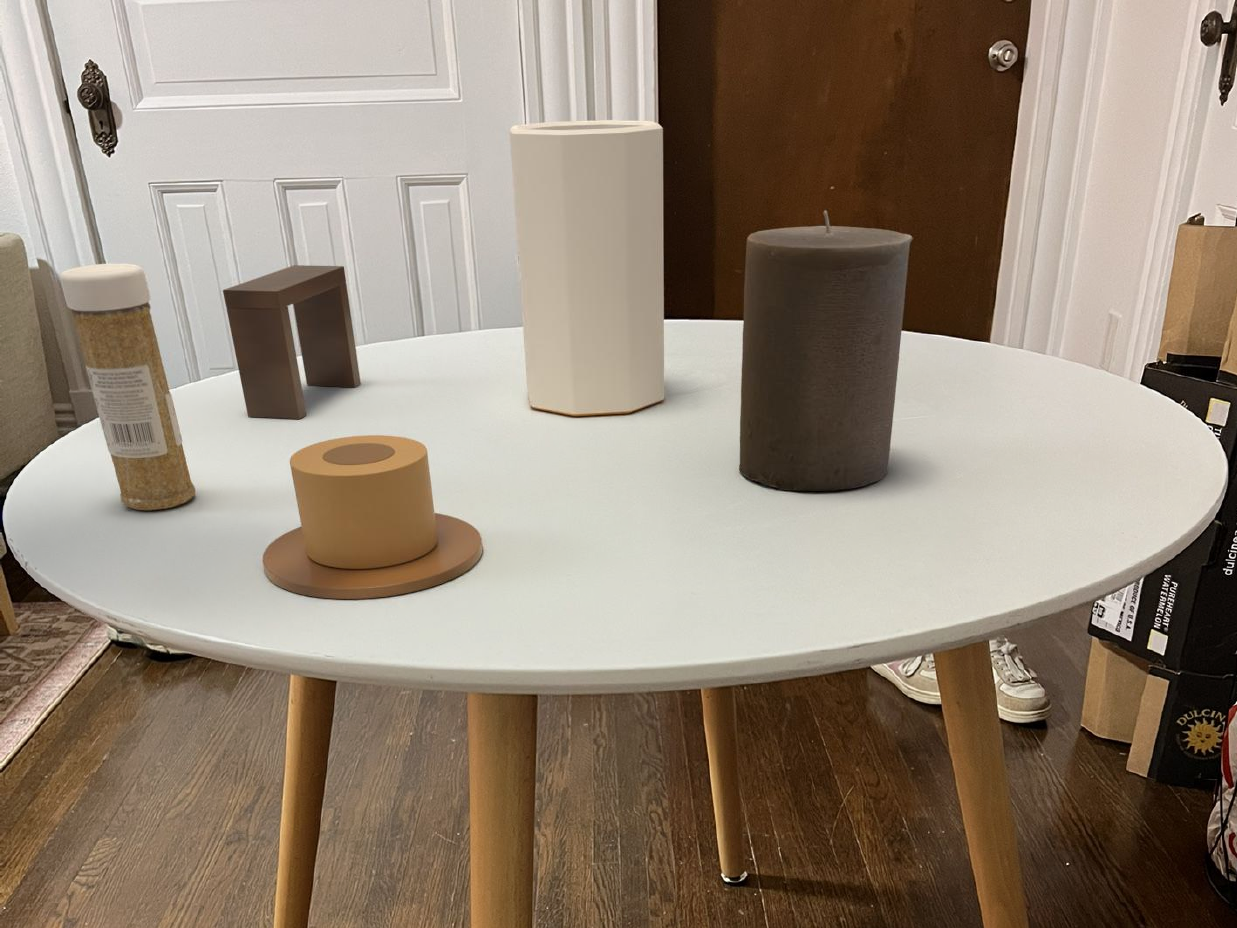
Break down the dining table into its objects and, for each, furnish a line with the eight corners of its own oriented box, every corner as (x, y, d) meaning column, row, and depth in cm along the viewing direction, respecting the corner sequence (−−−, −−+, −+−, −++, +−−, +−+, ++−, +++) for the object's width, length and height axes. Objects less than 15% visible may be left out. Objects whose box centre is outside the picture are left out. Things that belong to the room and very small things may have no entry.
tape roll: (282, 564, 63) (264, 470, 60) (341, 519, 69) (327, 431, 66) (407, 574, 62) (393, 477, 59) (456, 527, 67) (447, 437, 64)
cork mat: (222, 589, 62) (220, 578, 62) (325, 514, 72) (323, 504, 71) (434, 607, 60) (433, 596, 59) (511, 526, 69) (510, 516, 69)
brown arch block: (247, 416, 91) (222, 289, 86) (313, 382, 99) (293, 265, 94) (299, 419, 90) (277, 291, 85) (361, 384, 98) (344, 265, 93)
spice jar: (209, 491, 76) (158, 261, 68) (172, 514, 72) (113, 274, 65) (146, 487, 77) (88, 260, 69) (105, 510, 73) (40, 273, 65)
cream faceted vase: (501, 394, 95) (479, 125, 84) (622, 374, 99) (615, 117, 89) (564, 425, 87) (549, 133, 76) (692, 403, 91) (694, 123, 81)
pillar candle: (752, 496, 72) (762, 224, 64) (728, 450, 81) (734, 203, 72) (907, 489, 73) (937, 217, 65) (868, 444, 81) (890, 197, 73)
